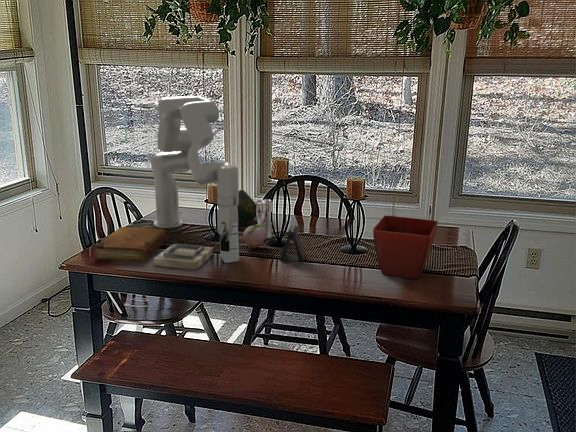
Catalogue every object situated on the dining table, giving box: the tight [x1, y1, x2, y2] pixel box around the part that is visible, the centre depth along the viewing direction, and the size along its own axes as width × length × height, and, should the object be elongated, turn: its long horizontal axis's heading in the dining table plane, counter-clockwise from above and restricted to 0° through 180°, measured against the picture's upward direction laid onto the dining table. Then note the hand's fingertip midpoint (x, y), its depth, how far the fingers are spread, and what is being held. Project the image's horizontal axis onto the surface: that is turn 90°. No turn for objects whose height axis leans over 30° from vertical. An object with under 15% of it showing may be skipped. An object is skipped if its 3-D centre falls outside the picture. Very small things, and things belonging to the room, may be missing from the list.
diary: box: [94, 226, 168, 263], centre depth 221 cm, size 23×19×6 cm
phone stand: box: [278, 225, 307, 263], centre depth 212 cm, size 9×6×12 cm, turn 80°
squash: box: [237, 189, 256, 227], centre depth 254 cm, size 14×15×15 cm
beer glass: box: [255, 198, 274, 240], centre depth 235 cm, size 7×7×15 cm
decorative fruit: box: [242, 223, 266, 249], centre depth 222 cm, size 9×8×10 cm
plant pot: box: [372, 215, 439, 280], centre depth 201 cm, size 19×19×17 cm
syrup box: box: [219, 222, 240, 264], centre depth 210 cm, size 6×6×14 cm
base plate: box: [153, 243, 214, 270], centre depth 212 cm, size 16×16×4 cm
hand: (229, 246), depth 211 cm, fingers closed on syrup box, 8 cm apart
